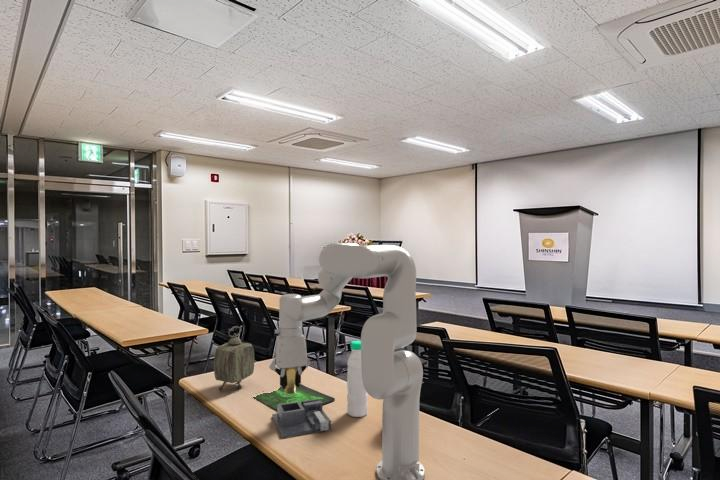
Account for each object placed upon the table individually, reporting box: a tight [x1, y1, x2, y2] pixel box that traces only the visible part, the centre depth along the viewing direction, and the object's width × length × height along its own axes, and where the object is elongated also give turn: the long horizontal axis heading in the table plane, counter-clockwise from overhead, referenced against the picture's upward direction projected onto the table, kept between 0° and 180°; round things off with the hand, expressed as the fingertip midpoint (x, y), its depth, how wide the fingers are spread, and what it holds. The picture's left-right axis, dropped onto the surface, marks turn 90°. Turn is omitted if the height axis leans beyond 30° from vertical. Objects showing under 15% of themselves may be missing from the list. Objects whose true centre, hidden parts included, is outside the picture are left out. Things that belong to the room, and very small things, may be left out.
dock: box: [271, 399, 333, 439], centre depth 137 cm, size 16×16×5 cm
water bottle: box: [346, 340, 368, 418], centre depth 144 cm, size 7×7×25 cm
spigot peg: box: [284, 367, 297, 394], centre depth 137 cm, size 4×4×10 cm
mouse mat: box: [252, 383, 336, 412], centre depth 158 cm, size 27×22×1 cm
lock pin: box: [314, 411, 330, 432], centre depth 133 cm, size 9×3×3 cm, turn 22°
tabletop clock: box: [213, 325, 255, 392], centre depth 168 cm, size 14×9×25 cm, turn 154°
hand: (290, 386), depth 137 cm, fingers closed on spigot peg, 4 cm apart
